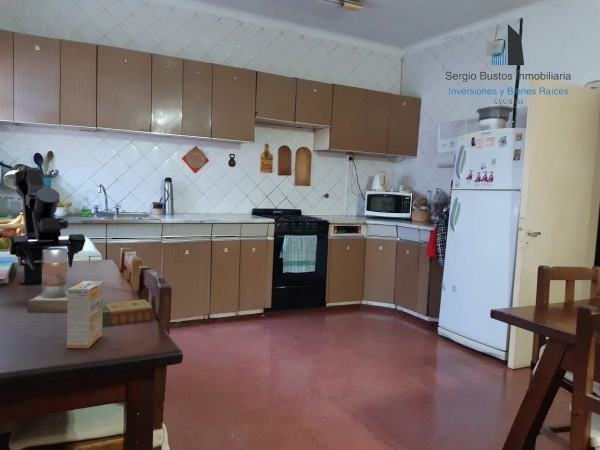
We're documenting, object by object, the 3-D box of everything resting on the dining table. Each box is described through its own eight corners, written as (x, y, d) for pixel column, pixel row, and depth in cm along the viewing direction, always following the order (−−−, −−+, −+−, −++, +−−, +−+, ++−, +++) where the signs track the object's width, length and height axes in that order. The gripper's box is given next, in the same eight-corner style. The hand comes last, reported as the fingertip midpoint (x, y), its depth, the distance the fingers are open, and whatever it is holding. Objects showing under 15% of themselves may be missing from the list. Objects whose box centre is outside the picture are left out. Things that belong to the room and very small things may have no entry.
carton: (152, 322, 116) (153, 306, 116) (85, 330, 107) (85, 313, 107) (144, 313, 123) (145, 298, 123) (80, 320, 114) (80, 304, 114)
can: (53, 292, 127) (53, 247, 126) (72, 294, 126) (72, 248, 125) (36, 297, 121) (36, 249, 120) (55, 299, 120) (55, 251, 119)
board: (42, 302, 128) (42, 291, 127) (79, 302, 129) (79, 291, 129) (27, 312, 118) (27, 300, 118) (68, 312, 120) (68, 300, 119)
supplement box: (89, 349, 95) (90, 289, 94) (66, 348, 95) (66, 288, 93) (103, 336, 103) (104, 280, 102) (82, 335, 103) (82, 280, 102)
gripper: (10, 206, 121) (16, 253, 114) (84, 207, 133) (94, 249, 126) (6, 231, 128) (12, 277, 121) (77, 230, 140) (86, 271, 133)
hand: (52, 268), depth 125 cm, fingers open, 9 cm apart
